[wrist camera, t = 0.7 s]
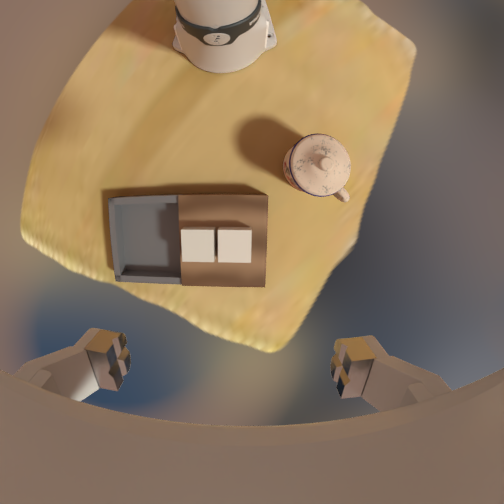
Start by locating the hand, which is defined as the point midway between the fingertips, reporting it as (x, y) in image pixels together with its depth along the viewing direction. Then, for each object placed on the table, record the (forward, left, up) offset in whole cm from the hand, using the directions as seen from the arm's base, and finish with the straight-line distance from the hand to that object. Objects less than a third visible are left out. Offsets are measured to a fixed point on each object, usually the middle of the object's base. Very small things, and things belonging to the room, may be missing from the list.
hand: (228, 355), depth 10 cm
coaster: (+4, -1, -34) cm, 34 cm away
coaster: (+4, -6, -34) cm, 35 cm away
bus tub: (+4, -16, -38) cm, 41 cm away
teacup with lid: (-8, +12, -38) cm, 41 cm away
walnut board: (+4, -3, -38) cm, 38 cm away
